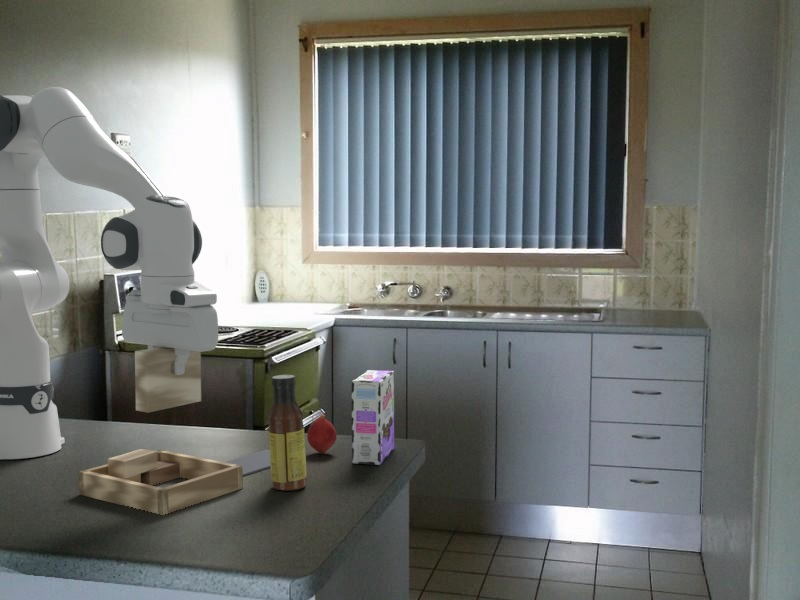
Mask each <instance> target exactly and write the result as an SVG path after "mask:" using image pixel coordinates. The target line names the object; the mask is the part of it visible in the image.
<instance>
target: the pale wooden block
mask: <svg viewBox="0 0 800 600" xmlns="http://www.w3.org/2000/svg"><path fill="white" fill-rule="evenodd" d="M176 358H177V355H175V348H167V347H159V348H152V349H148V348H147V349H139V350H135V351H134V369H135V370H134V371H135V372H134V375H135V377H134V380H135V381H134V382H135V383H134V384H135V386H134V387H135V391H134V392H135V411H136V412H137V411H138V412H143V413H152V412H157V411H161V410H166V409H172V408H176V407H180V406H185V405H190V404H193V403H194V404H195V403H198V402H202V363H201V362H202V360H201V359H202V352H198V351H190V355H189V357H188V359H187V361H186V363H185V372H184V374H182V375H175V374H172V373H171V370H172V369H171V364H174V363H175V360H176Z"/></svg>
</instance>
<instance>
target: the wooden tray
mask: <svg viewBox="0 0 800 600" xmlns="http://www.w3.org/2000/svg"><path fill="white" fill-rule="evenodd" d="M156 451H157V459H158V462H159V461H163V460H167V461H172V462H177V463H179V465H180V478H181V477H182V478H181V479H186V478H187V480H184V481H182V482H178V483H175V484H172V485H169V486H165V487H161V486H156V485H154V486H152V485H147V484H143V483H138V482H134V481H130V480H125V479H121V478H116V477H112V476H108V463H107V464H103V465H100V466H99V465H98V466H95V467H92V468H88V469H84V470H81V471H78V485H79V486H78V487H79V488H78V491H79V496H85V497H87V498H92V499H95V500H100V501H104V502H108V503H111V504H112V503H113V504H114V505H115V504H116V505H120V506H123V505H124V507H127V506H129V507H128V508H131V507H133V508H132V509H135V508H136V510H139V509H141V510H140V511H143V510H145V511H144V512H147V511H148V513H151V512H152V513H151V514H155V513H156V515H159V514H160V515H159V516H166V515H168V513H169V514H171V512H172V513H174V511H175V512H177V511H180V510H183V509H186V508H189V507H192V506H195V505H198V504H201V503H203V501H204V502H206V501H209V500H212V499H216V498H218V497H220V496H223V495H224V496H225V495H226V494H227V495H228V494H229V493H232V492H236V491H238V490H241V489H244V479H243V477H244V476H243V467H242V466H241V465H236V464H230V463H225V462H226V461H220V460H214V459H209V458H204V457H199V456H193V455H188V454H184V453H177V452H173V451H168V450H162V449H159V450H156ZM200 502H201V503H200ZM194 504H195V505H194ZM191 505H192V506H191ZM188 506H189V507H188ZM185 507H186V508H185ZM179 509H180V510H179ZM176 510H177V511H176ZM165 514H166V515H165Z"/></svg>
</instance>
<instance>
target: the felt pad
mask: <svg viewBox="0 0 800 600" xmlns="http://www.w3.org/2000/svg"><path fill="white" fill-rule="evenodd" d="M224 462H225V463H230V464H236V465H241V466H242V467H243V477H246V476H249V475H252V474H254V473H257V472H260V471H261V472H262V471H264V470H268V469H271V465H270V448H269V449H268V448H267V449H263V450H261V451H258V452H253V453H251V454H248V455H244V456H241V457H237V458H234V459H231V460H228V461H224Z"/></svg>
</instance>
